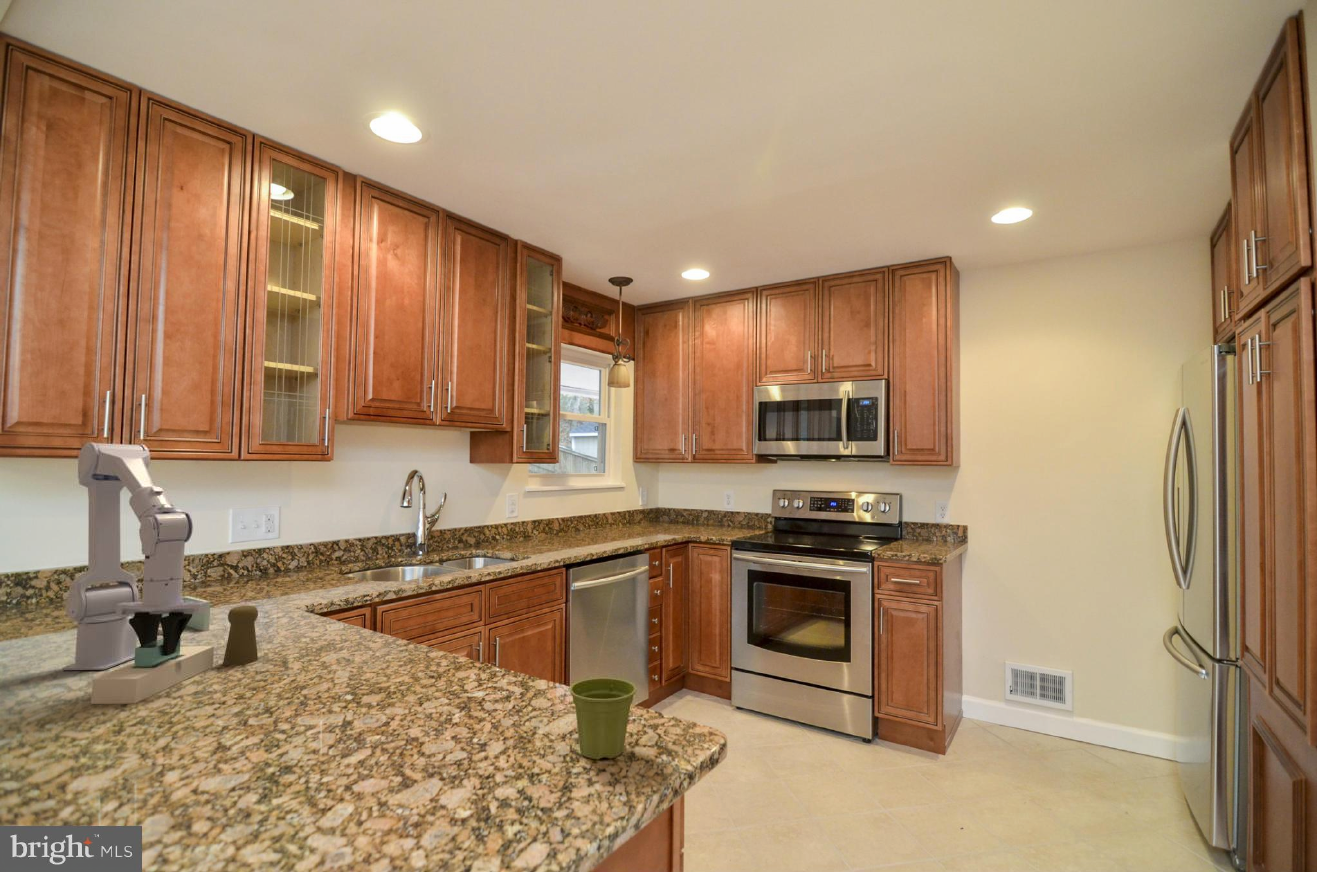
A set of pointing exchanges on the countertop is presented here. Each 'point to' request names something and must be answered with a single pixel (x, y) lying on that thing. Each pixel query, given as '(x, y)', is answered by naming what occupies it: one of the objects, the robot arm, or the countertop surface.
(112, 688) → the rail
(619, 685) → the plant pot
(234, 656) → the cork
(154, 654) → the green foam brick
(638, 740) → the countertop surface
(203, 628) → the right angle wall
